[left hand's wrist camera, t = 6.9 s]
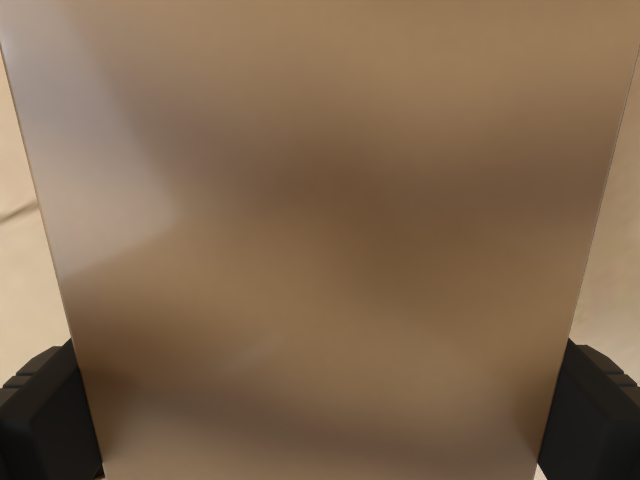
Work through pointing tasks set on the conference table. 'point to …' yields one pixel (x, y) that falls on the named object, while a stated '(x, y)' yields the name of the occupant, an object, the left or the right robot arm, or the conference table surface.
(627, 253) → the conference table surface
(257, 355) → the cabinet
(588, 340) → the conference table surface
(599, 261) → the conference table surface
